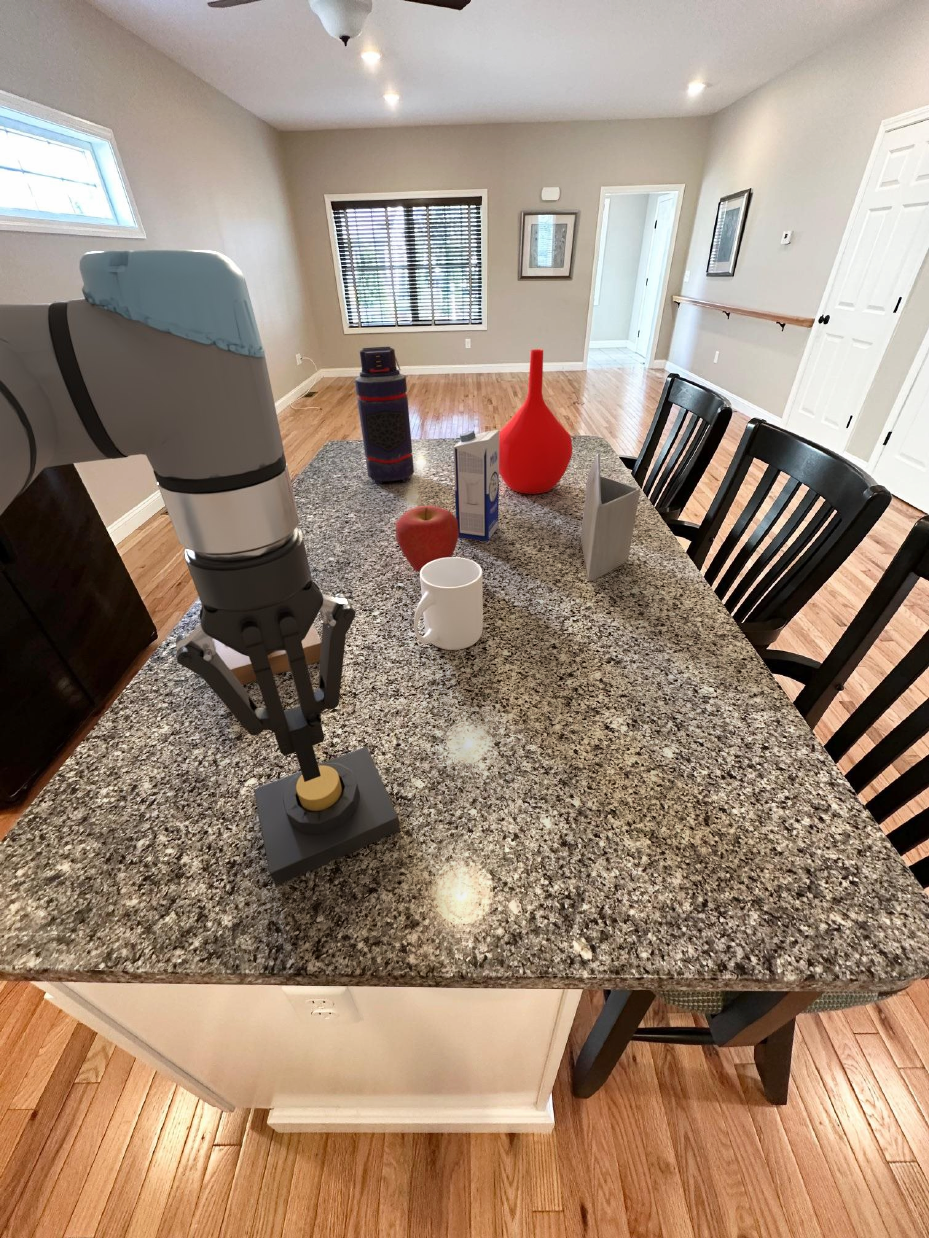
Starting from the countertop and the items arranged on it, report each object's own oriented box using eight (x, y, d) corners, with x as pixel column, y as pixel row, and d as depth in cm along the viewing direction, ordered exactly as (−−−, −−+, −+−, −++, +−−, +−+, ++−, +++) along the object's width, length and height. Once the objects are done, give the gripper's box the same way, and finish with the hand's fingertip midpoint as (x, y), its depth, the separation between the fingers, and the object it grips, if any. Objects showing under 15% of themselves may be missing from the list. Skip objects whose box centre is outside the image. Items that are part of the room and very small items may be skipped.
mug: (396, 647, 74) (388, 584, 68) (452, 611, 82) (449, 551, 75) (439, 672, 70) (434, 606, 63) (494, 631, 77) (495, 569, 71)
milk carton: (488, 541, 101) (487, 438, 90) (456, 537, 103) (452, 435, 92) (498, 527, 107) (499, 428, 95) (468, 523, 109) (465, 425, 97)
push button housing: (275, 886, 46) (264, 862, 44) (259, 801, 54) (248, 777, 51) (400, 830, 50) (396, 805, 48) (369, 758, 58) (364, 734, 55)
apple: (400, 558, 97) (393, 497, 90) (457, 554, 97) (454, 493, 90) (400, 589, 88) (392, 524, 81) (462, 584, 88) (460, 519, 81)
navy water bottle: (416, 483, 129) (405, 350, 112) (369, 488, 128) (350, 353, 111) (411, 466, 140) (400, 342, 123) (367, 470, 139) (350, 345, 122)
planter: (635, 582, 87) (657, 470, 76) (588, 581, 88) (602, 470, 77) (621, 540, 100) (637, 439, 89) (580, 539, 101) (591, 439, 90)
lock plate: (220, 691, 68) (213, 673, 66) (213, 643, 76) (206, 625, 75) (325, 659, 73) (321, 641, 71) (307, 617, 81) (303, 600, 80)
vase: (571, 476, 130) (583, 344, 113) (566, 503, 116) (579, 357, 99) (500, 472, 134) (501, 344, 117) (486, 498, 120) (485, 356, 103)
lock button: (304, 818, 48) (300, 806, 47) (296, 786, 51) (292, 774, 50) (346, 801, 49) (343, 789, 48) (335, 770, 52) (332, 759, 51)
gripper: (326, 499, 39) (365, 718, 53) (134, 534, 35) (230, 765, 48) (354, 536, 34) (389, 771, 47) (130, 584, 29) (240, 830, 42)
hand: (309, 768), depth 47 cm, fingers closed
